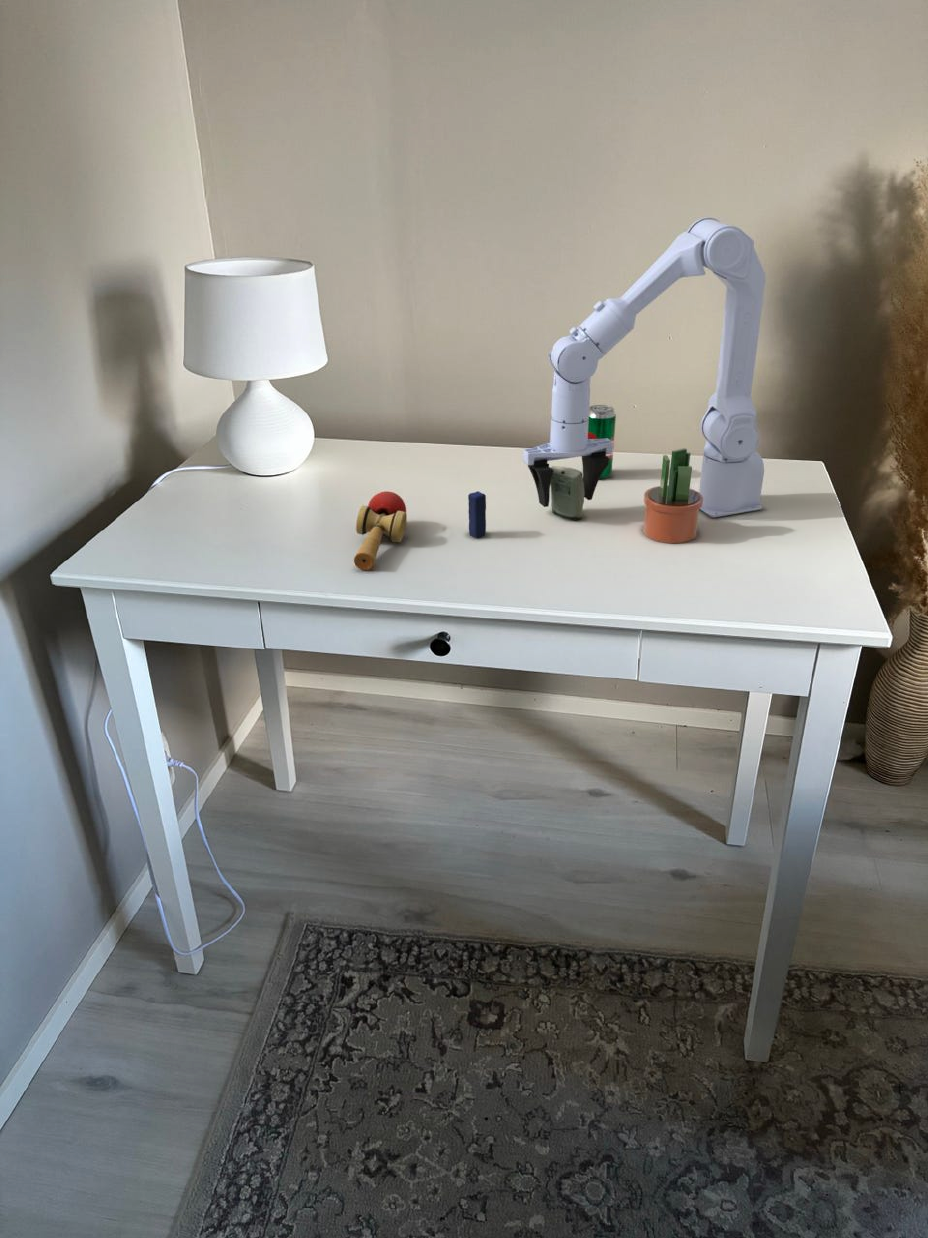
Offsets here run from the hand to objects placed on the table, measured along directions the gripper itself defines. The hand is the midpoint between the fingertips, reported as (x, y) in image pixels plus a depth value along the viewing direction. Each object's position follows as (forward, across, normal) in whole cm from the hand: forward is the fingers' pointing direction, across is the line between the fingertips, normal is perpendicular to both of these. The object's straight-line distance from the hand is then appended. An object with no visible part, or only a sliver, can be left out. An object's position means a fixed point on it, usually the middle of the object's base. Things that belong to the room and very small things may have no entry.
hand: (565, 501), depth 155 cm
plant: (+2, -12, +12) cm, 17 cm away
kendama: (+3, +31, 0) cm, 31 cm away
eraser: (+3, +16, +2) cm, 16 cm away
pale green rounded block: (+3, 0, 0) cm, 3 cm away
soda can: (+3, -13, -14) cm, 19 cm away
